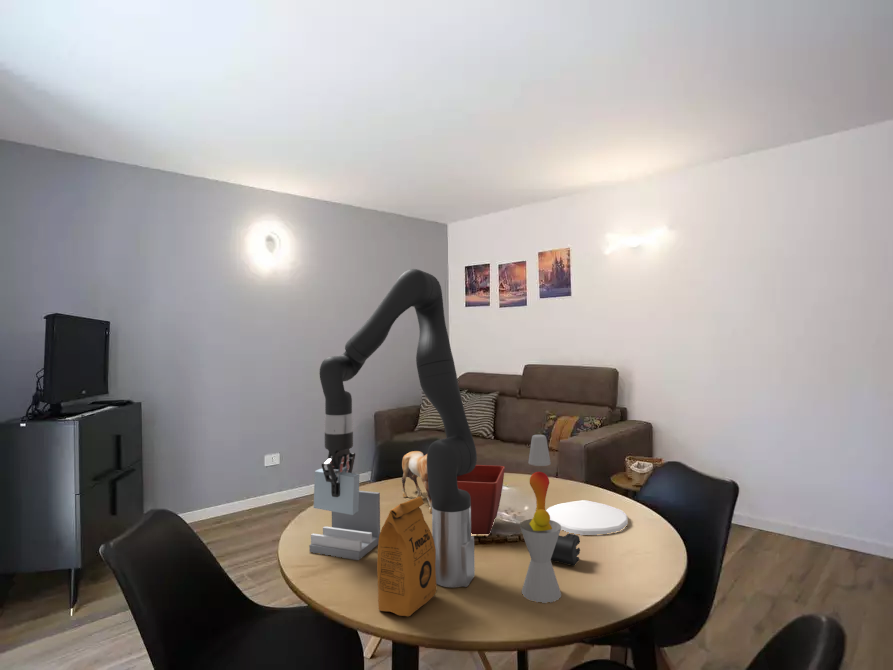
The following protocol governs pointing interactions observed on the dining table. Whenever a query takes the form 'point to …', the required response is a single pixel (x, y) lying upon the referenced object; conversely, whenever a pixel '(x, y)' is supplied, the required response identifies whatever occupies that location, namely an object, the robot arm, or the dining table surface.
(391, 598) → the coffee package
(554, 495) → the dining table surface
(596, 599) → the dining table surface
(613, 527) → the decorative plate
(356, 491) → the door panel
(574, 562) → the end cap
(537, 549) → the lava lamp
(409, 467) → the horse figurine
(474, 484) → the plant pot
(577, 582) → the dining table surface
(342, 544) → the grey slotted stand
